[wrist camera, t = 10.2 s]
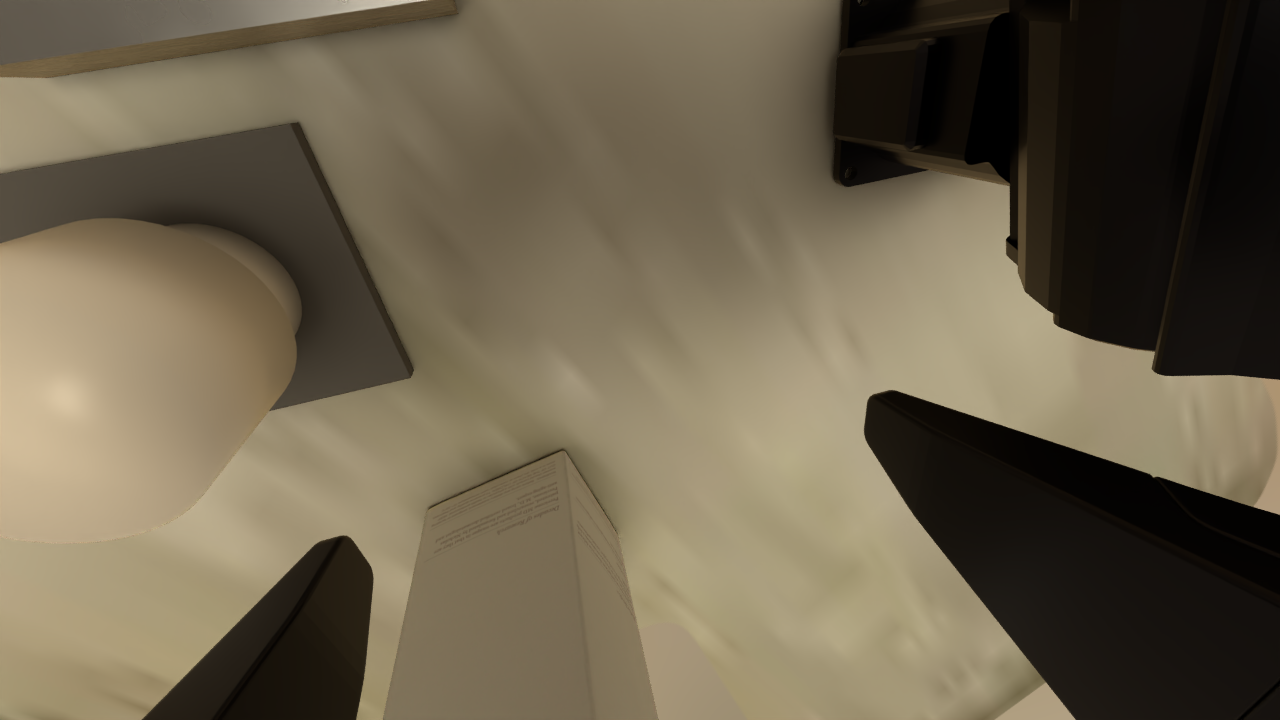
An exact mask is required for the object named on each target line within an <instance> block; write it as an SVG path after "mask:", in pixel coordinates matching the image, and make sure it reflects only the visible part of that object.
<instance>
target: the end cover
mask: <svg viewBox="0 0 1280 720" xmlns="http://www.w3.org/2000/svg"><path fill="white" fill-rule="evenodd" d="M301 318H302V304H301V298H300V295H299V292H298V289H297V287H296V285H295V283H294V281H293V279H292V278H291V276H290V275H289V273H288V272H287V271H286V269H285V268H284V267H283V266H282V264H281V263H280V262H279V261H278V260H277V259H276V258H275V257H274V256H272V255H271V254H270V253H269V252H267V251H266V250H265V249H264V248H262V247H261V246H259V245H258V244H256V243H255V242H253V241H251V240H249V239H247V238H245V237H243V236H241V235H239V234H237V233H234V232H232V231H229V230H226V229H222V228H219V227H215V226H210V225H204V224H194V223H188V224H174V225H169V226H163V225H160V224H155V223H150V222H145V221H140V220H131V219H121V218H96V219H88V220H80V221H75V222H72V223H68V224H64V225H60V226H57V227H53V228H50V229H47V230H43V231H40V232H37V233H34V234H30V235H27V236H24V237H20V238H17V239H14V240H10V241H7V242H4V243H0V537H2V538H8V539H14V540H21V541H31V542H42V543H92V542H101V541H109V540H116V539H121V538H125V537H130V536H134V535H138V534H141V533H144V532H148V531H151V530H153V529H156V528H158V527H160V526H163V525H165V524H167V523H169V522H171V521H173V520H174V519H176V518H178V517H179V516H181V515H183V514H184V513H185V512H186V511H188V510H189V509H190V508H191V507H193V506H194V505H195V504H196V503H197V501H198V500H199V499H200V498H201V497H202V496H203V495H204V493H205V492H206V491H207V490H208V488H209V487H210V486H211V484H212V483H213V482H214V481H215V479H216V478H217V477H218V475H219V474H220V473H221V472H222V470H223V469H224V468H225V466H226V465H227V464H228V463H229V461H230V460H231V459H232V457H233V456H234V455H235V454H236V452H237V451H238V450H239V449H240V447H241V446H242V445H243V443H244V442H245V441H246V440H247V438H248V437H249V436H250V434H251V433H252V432H253V431H254V429H255V428H256V427H257V425H258V424H259V423H260V422H261V420H262V419H263V418H264V416H265V415H266V414H267V413H268V411H269V410H270V409H271V407H272V406H273V405H274V404H275V402H276V401H277V400H278V399H279V397H280V396H281V395H282V393H283V392H284V391H285V389H286V388H287V386H288V384H289V383H290V381H291V378H292V376H293V373H294V371H295V365H296V360H297V347H296V341H295V334H296V333H297V331H298V328H299V326H300V323H301Z"/></svg>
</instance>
